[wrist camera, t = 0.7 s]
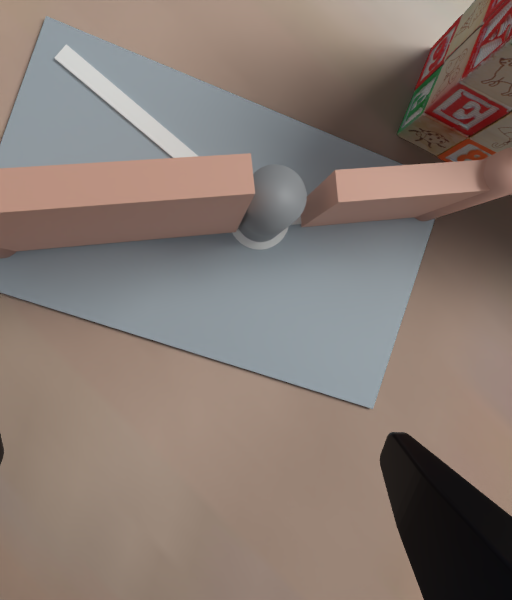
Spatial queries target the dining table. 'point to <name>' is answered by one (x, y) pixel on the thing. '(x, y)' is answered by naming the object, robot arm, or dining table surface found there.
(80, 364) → the dining table surface
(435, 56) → the stack of blocks
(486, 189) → the fixed fence section
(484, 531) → the robot arm
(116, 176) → the fence panel
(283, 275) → the board
